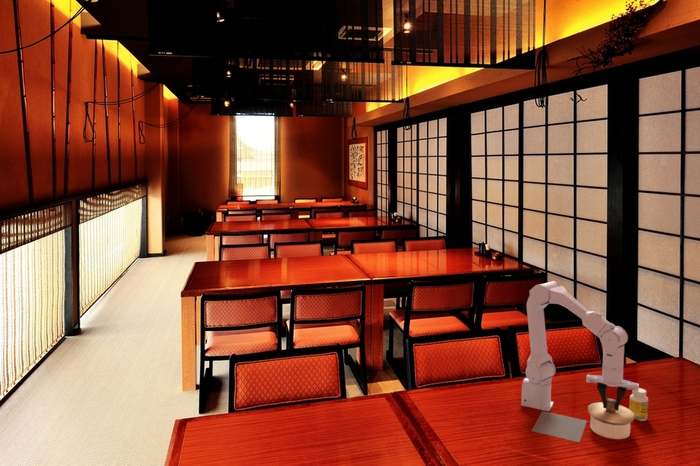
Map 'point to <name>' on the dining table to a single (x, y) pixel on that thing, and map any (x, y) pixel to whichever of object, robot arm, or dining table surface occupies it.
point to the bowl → (610, 429)
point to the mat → (560, 426)
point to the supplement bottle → (639, 404)
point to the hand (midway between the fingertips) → (610, 408)
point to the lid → (611, 412)
